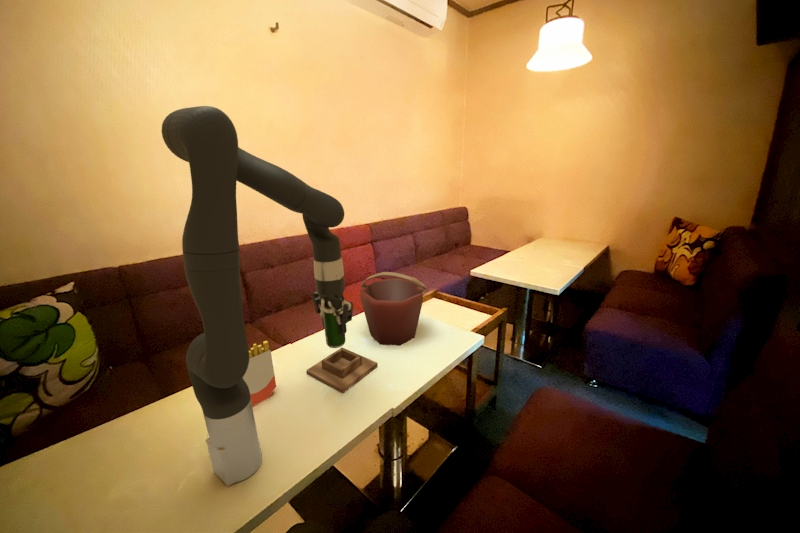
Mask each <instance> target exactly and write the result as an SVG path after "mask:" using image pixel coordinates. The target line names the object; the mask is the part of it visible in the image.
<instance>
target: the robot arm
mask: <svg viewBox="0 0 800 533" xmlns="http://www.w3.org/2000/svg"><path fill="white" fill-rule="evenodd" d="M161 135H162V136H161V137H162V139H163V141H164V144H165V145H166V147H167V149H169V151H170V152H171V153H172V154H173V155H174V156H176V157H177V158H179V159H180V160H182V161H185V162H187V163H188V164H189V171H190V178H191V190H192V191H191V202H190V206H189V207H190V208H189V210H188V213H187V215H186V216H187V217H186V220H185V224H184V228H183V232H182V233H183V234H182V240H181V241H182V242H181V247H182V249H181V250H182V257H183V268H184V274H185V278H186V281H187V282H186V283H187V285H188V288H189V290H190V293H191V296H192V298H193V300H194V303H195V305H196V307H197V309H198V313H199V315H200V317H201V318H200V319H201V321H202V326H203V333H201V334H199V335H197V336H196V337H194V339H193V340H191V341H192V342H191V343H190V344H189V346H188V348H187V350H186V357H185V363H186V368H187V372H188V376H189V379H190V382H191V385H192V389H193V393H194V396H195V398H196V400H197V402H198V403H199V405H200V407H201V410H202V414H203V418H204V421H205V426H206V431H207V435H208V437H207V438H206V440H205V442H206V446H207V450H208V453H209V459H210V462H211V467H212V470H213V473H214V475H216V476H217V477H218V478H219V479H220V480H221V481H222V482H223V483H224V484H225V485H226V486H227V487H230V486H231V485H233V484H235V483H238V482H242V481H245V480H247V479H248V478H249V477H251V476H253V475H254V474H255V473H256V472H257V470H258V469H259V468H260V466H261V463H262V462H263V461H262V460H263V456H262V450H261V447H260V446H261V444H260V440H259V435H258V431H257V430H258V429H257V425H256V420H255V415H254V414H255V413H254V409H253V407H254V406H252V402H251V397H250V391H249V387H248V385H247V384H246V382H245V381H244V379H243V376H244V375H245V373H246V371H247V368H248V364H249V351H250V350H249V344H248V338H247V332H246V326H245V320H244V314H243V297H242V283H241V279H242V278H241V256H240V255H241V254H240V243H239V242H240V241H239V232H238V231H239V229H238V228H239V227H238V208H237V206H238V205H237V182H239V183H241V184H242V185H244V186H246V187H248V188H250V189H251V190H254V191H256V192H257V193H259V194H261V195H263V196H264V197H266V198H268V199H270V200H271V201H273V202H274V203H277V204H278V205H280V206H282V207H284V208H285V209H287V210H290V211H292V212H294V213H297V214H302V220H303V223H304V227H305V229H306V232H307V235H308V237H309V240H310V242H311V245H312V246H311V247H312V256H313V272H314V273H313V274H314V283H315V290H316V291H315V292H313V293H311V298H312V302H313V306H314V307H313V308H314V309H315V313H316V314H319V316H320V317H321V321H322V322H321V323H322V328H323V329H324V330H325V328H324V319H323V306H324V307H325V306H327V307H330V308H331V309H332V312H333V315H334V317H336V319H337V322H338V334H339V335H340V336H342V335H344V334H345V335H346V333H347V329H348V328H347V323H349V322H352V319H353V311H354V310H353V309H354V303H353V301H346V299H345V297H344V292H345V290H346V284H345V274H344V273H345V272H344V271H345V270H344V264H343V259H342V248H341V246H342V245H341V240H340V238H339V237H338V235H336V234H334V233H333V232H332V231H331V230H330V229H331V228H335V227H338V226H339V225H341V224H342V223H343V220H344V218H345V210H344V207H343V206H344V205H343V204H342V203H341V202H340V201H339V200H338V199H336V198H335V197H334V196H332V195H330V194H327V193H325V192H324V191H321V190H320V189H317V188H314V187H313V186H311V185H309V184H307V183H306V182H305V181H303V180H302V179H300V178H299V177H298V176H295V174H293V173H291V172H289V171H288V170H286V169H284V168H282V167H280V166H278V165H276V164H273V163H271V162H268V161H266V160H264V159H262V158H260V157H258V156H256V155H254V154H252V153H250V152H248V151H246V150H244V149H243V148H240V147H239V139H238V133H237V128H236V127H235V125H234V123H233V122H232V119H231V118H230V117H229V116H228V115H227V114H226V113H225V112H224V111H223V110H221V109H219V108H217V107H215V106H209V105H201V106H192V107H191V106H190V107H184V108H180V109H176V110H174V111H172V112H171V113H169V114H168V115H166V116H165V118H164V119H163V121H162V124H161ZM340 308H342V311H340V312H338V313H337V311H336V310H338V309H340ZM341 314H342V318H340V315H341Z"/></svg>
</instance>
